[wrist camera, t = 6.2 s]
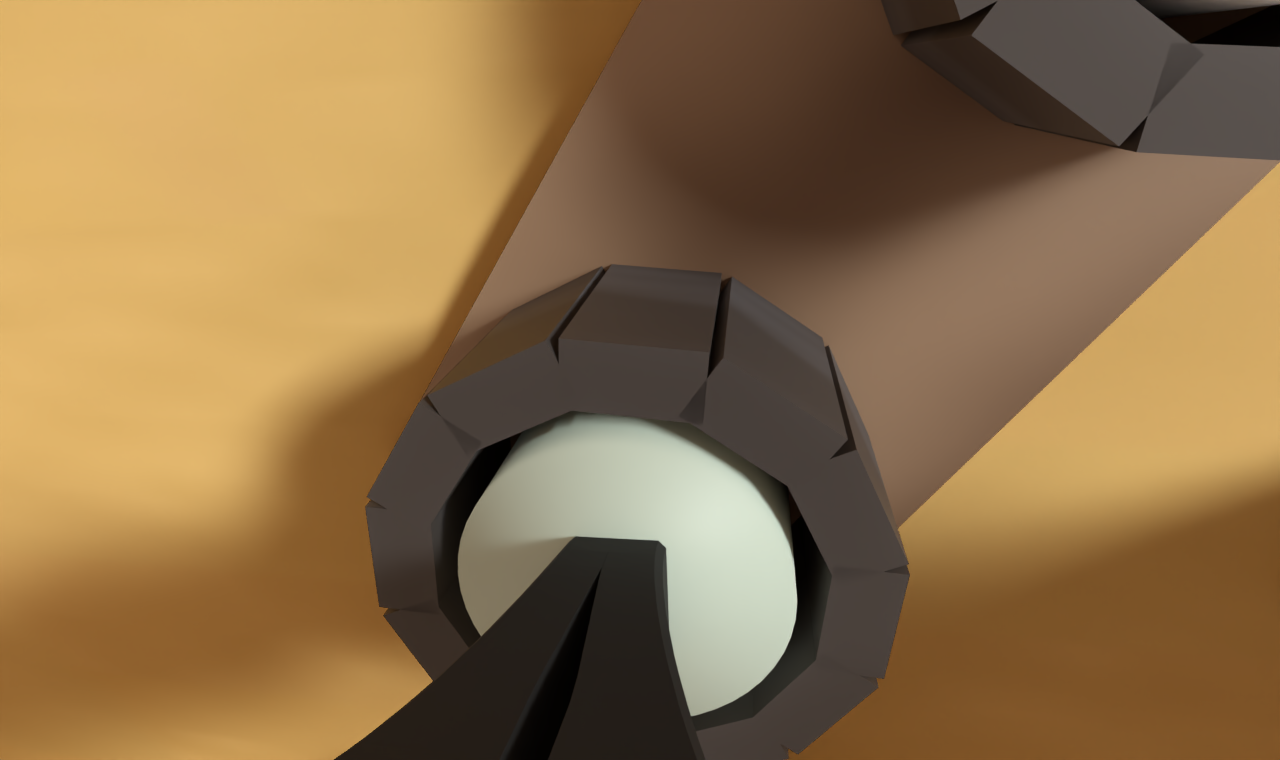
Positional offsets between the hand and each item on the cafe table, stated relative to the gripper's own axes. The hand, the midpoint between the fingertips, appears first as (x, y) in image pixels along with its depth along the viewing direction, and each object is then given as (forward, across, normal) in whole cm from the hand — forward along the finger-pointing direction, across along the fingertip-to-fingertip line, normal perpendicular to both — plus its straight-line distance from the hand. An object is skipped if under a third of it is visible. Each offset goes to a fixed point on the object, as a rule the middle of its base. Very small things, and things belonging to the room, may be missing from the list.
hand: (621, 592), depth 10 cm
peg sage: (+3, 0, 0) cm, 3 cm away
